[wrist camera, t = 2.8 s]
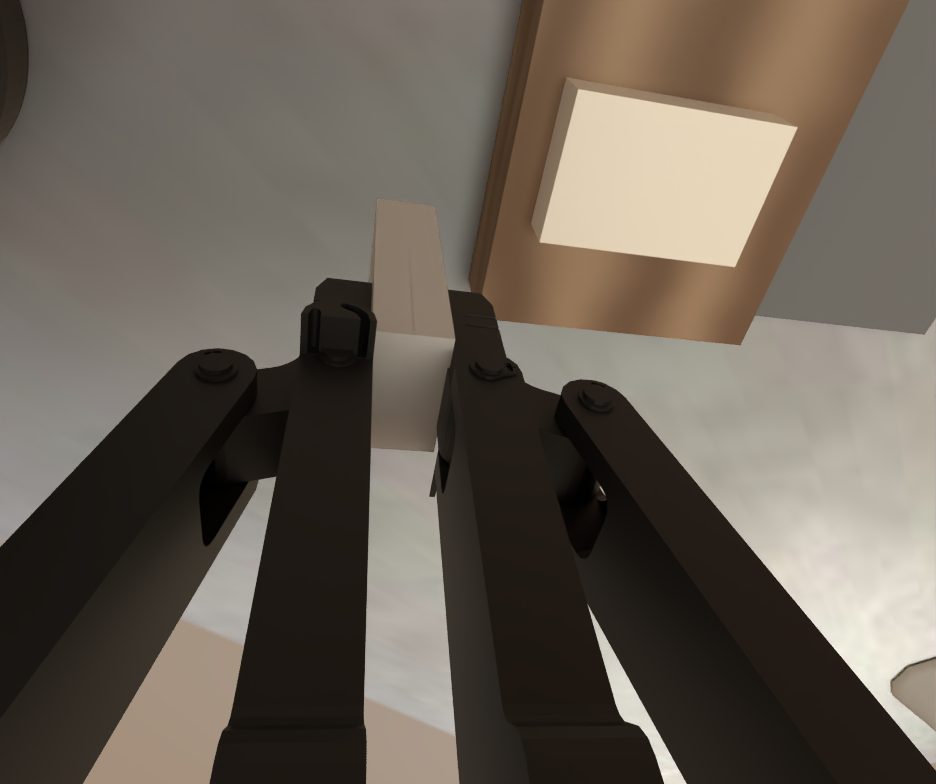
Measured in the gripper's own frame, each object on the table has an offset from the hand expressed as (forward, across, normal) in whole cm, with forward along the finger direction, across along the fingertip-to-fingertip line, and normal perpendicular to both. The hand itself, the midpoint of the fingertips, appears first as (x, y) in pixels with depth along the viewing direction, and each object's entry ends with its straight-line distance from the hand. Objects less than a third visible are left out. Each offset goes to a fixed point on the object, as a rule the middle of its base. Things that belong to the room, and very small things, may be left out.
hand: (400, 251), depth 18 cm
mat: (+15, +26, 0) cm, 30 cm away
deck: (+15, +12, 0) cm, 19 cm away
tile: (+11, +11, 0) cm, 15 cm away
